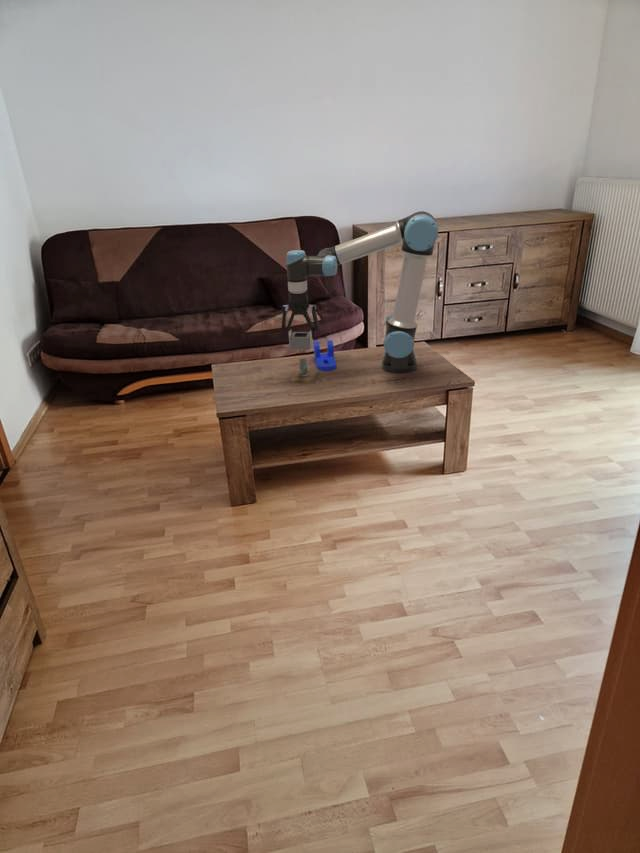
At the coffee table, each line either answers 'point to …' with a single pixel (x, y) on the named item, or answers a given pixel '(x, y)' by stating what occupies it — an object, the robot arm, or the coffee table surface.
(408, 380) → the coffee table surface
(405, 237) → the robot arm
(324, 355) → the bracket
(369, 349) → the coffee table surface
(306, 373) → the peg stand
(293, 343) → the gray square frame
